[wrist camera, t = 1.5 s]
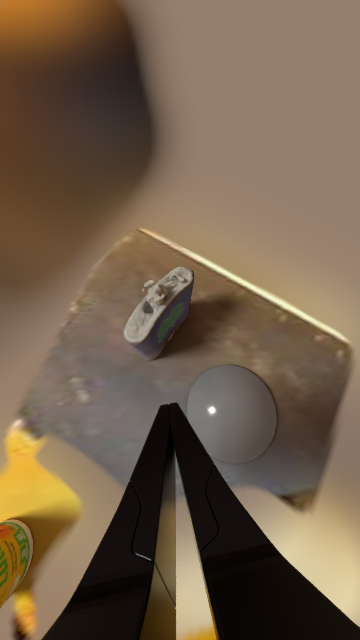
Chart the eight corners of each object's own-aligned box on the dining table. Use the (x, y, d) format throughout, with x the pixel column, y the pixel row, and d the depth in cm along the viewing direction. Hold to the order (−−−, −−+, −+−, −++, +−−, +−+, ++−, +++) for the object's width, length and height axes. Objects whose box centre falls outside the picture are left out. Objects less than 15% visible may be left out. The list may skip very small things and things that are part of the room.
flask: (152, 364, 23) (131, 344, 13) (134, 351, 24) (102, 322, 14) (193, 310, 26) (202, 258, 16) (176, 299, 27) (174, 243, 17)
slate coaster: (292, 434, 21) (295, 435, 20) (212, 480, 19) (213, 483, 19) (244, 352, 24) (246, 351, 23) (173, 386, 22) (172, 386, 22)
